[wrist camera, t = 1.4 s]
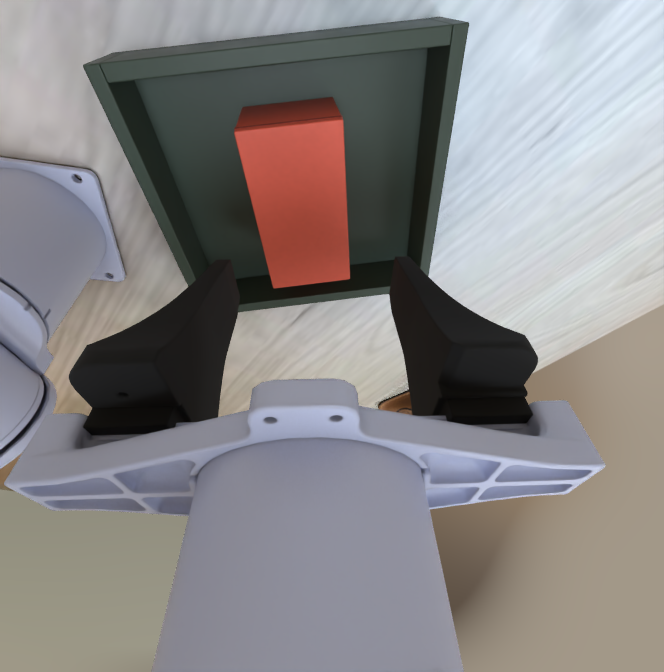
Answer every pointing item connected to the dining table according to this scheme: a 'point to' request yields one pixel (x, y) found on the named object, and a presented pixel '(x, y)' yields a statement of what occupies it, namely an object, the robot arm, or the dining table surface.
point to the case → (297, 188)
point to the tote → (278, 87)
